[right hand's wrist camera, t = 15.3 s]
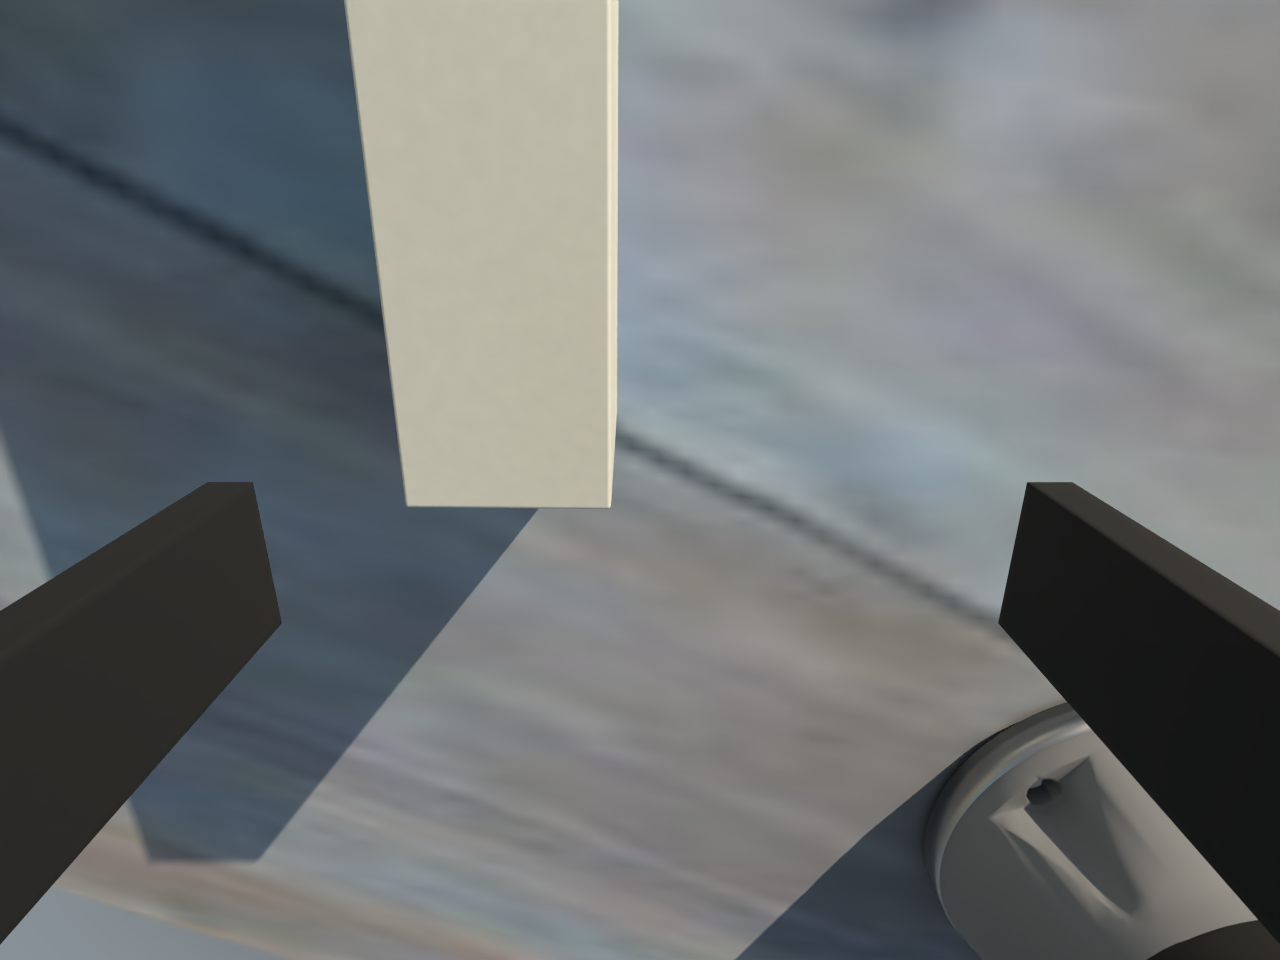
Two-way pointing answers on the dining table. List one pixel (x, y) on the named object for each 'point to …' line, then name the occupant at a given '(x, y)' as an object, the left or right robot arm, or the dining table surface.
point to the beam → (495, 242)
